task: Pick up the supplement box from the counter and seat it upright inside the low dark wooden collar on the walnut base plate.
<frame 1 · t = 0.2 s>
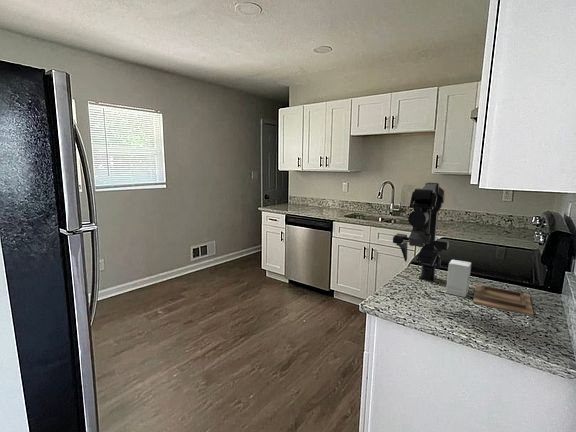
hand: (418, 263, 117), 14 cm above the countertop, tool pointing down, fingers open, 9 cm apart
supplement box: (457, 292, 127), on the countertop
wooden tray: (501, 299, 121), on the countertop
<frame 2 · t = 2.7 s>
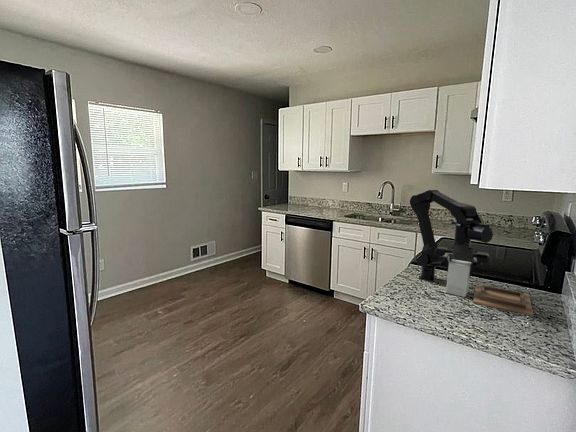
hand: (459, 274, 126), 8 cm above the countertop, tool pointing down, fingers closed on supplement box, 7 cm apart
supplement box: (457, 292, 127), on the countertop, touching gripper
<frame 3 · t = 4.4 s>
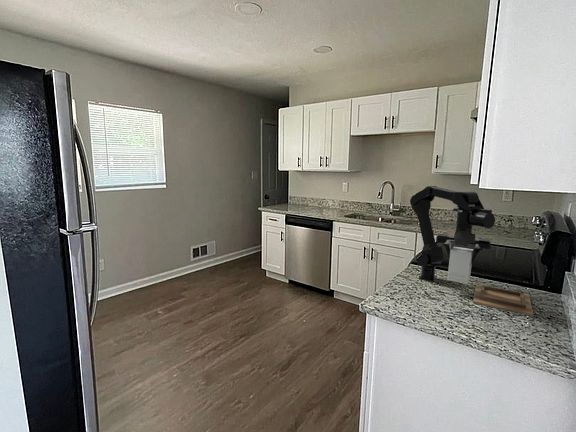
hand: (460, 261, 125), 13 cm above the countertop, tool pointing down, fingers closed on supplement box, 7 cm apart
supplement box: (458, 280, 126), point 5 cm above the countertop, touching gripper
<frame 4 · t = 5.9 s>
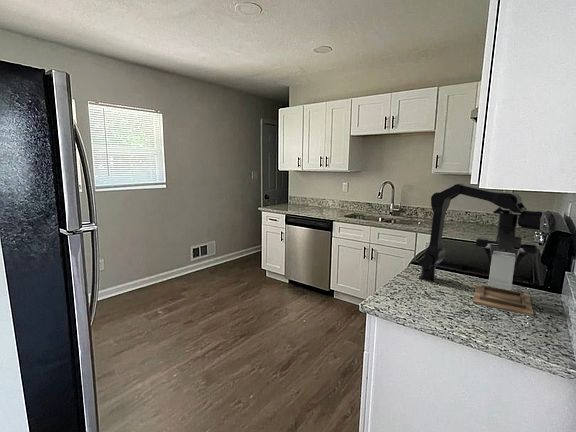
hand: (502, 266, 119), 13 cm above the countertop, tool pointing down, fingers closed on supplement box, 7 cm apart
supplement box: (499, 285, 120), point 5 cm above the countertop, touching gripper
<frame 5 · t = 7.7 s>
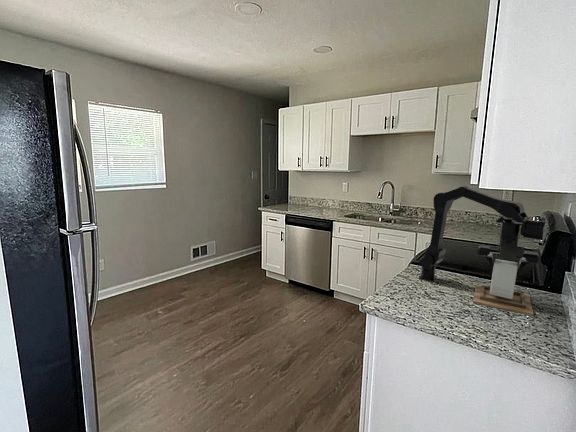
hand: (504, 275, 119), 10 cm above the countertop, tool pointing down, fingers closed on supplement box, 7 cm apart
supplement box: (501, 294, 120), point 2 cm above the countertop, touching gripper
when the fingers open (9 cm above the countertop, at t = 9.2 s): supplement box stays where it is, resting on wooden tray.
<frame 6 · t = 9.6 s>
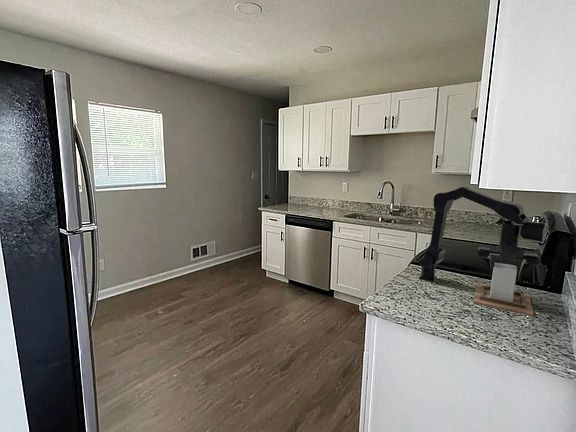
hand: (504, 276, 119), 9 cm above the countertop, tool pointing down, fingers open, 9 cm apart
supplement box: (501, 298, 120), point 1 cm above the countertop, touching wooden tray
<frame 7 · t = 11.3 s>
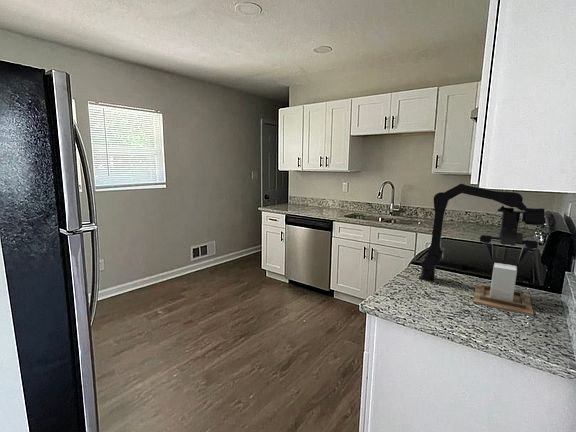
hand: (505, 261, 126), 13 cm above the countertop, tool pointing down, fingers open, 9 cm apart
nothing on the countertop moved.
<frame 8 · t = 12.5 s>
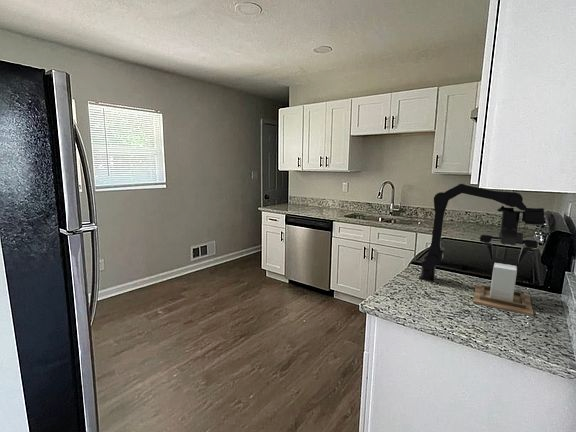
hand: (505, 260, 127), 13 cm above the countertop, tool pointing down, fingers open, 9 cm apart
nothing on the countertop moved.
at the end: supplement box 0.1 cm off-centre on the wooden tray, point 0.6 cm above the wooden tray's base; supplement box tilted 0°; the gripper is holding nothing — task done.
